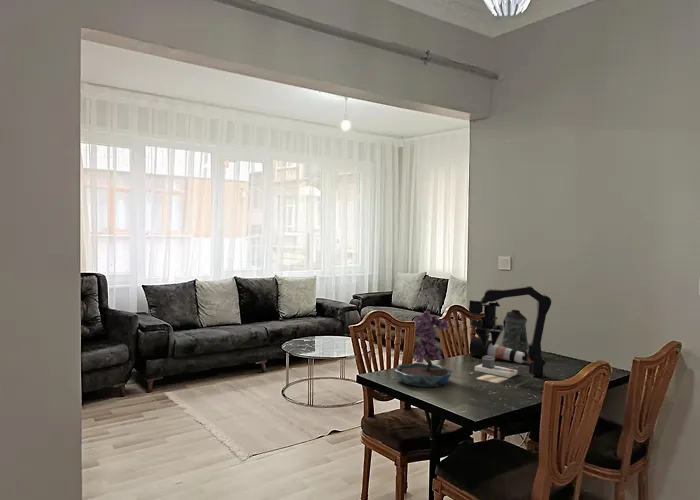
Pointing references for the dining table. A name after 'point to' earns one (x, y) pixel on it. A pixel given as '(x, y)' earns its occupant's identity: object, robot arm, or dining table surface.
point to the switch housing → (497, 371)
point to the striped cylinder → (496, 351)
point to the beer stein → (515, 332)
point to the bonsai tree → (425, 356)
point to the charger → (488, 361)
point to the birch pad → (491, 378)
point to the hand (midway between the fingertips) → (488, 346)
